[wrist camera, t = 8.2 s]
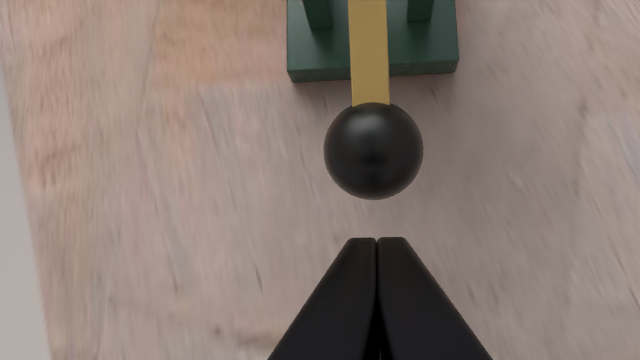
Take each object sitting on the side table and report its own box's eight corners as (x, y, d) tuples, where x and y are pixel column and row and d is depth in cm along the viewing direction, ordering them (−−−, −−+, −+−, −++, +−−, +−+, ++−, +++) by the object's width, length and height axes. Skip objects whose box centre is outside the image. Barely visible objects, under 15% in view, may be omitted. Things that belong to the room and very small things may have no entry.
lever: (420, 192, 17) (429, 204, 14) (330, 195, 17) (320, 207, 14) (408, -185, 16) (415, -261, 13) (313, -173, 16) (299, -244, 13)
